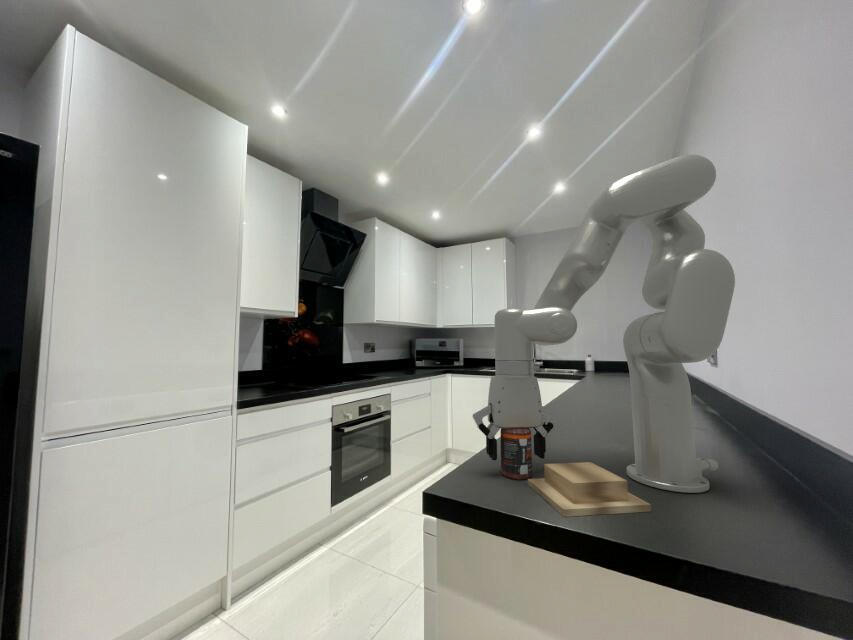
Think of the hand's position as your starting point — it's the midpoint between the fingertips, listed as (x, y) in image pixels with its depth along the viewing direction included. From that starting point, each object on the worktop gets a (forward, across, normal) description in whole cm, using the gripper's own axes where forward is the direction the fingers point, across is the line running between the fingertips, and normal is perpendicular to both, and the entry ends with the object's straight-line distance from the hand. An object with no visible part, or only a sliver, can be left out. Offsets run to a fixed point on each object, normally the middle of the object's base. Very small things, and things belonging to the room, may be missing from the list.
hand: (516, 457), depth 65 cm
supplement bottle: (+3, 0, 0) cm, 3 cm away
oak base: (+3, -7, +11) cm, 13 cm away
